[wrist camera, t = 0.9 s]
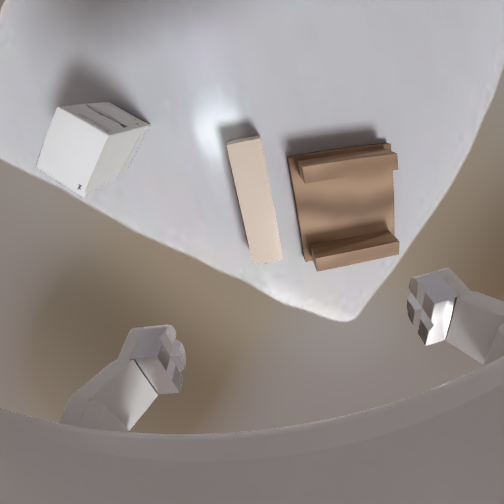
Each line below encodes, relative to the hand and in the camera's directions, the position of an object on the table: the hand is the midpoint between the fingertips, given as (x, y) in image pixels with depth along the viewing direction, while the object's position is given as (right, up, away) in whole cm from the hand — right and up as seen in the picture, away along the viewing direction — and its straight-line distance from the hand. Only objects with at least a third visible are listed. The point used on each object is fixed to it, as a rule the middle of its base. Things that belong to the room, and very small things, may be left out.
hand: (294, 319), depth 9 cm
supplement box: (-19, +18, +25) cm, 36 cm away
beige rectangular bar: (-1, +10, +30) cm, 31 cm away
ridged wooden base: (+12, +9, +30) cm, 33 cm away
